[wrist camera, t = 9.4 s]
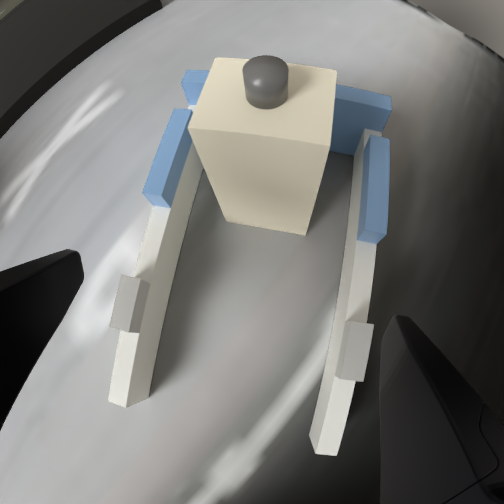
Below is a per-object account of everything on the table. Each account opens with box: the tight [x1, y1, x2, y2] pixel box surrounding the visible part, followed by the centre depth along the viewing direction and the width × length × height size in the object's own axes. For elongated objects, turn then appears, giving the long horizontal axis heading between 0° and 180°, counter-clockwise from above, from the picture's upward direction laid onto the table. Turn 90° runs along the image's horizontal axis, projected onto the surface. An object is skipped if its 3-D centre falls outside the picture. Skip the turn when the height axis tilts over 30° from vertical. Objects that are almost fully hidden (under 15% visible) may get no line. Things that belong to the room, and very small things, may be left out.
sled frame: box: [108, 70, 392, 456], centre depth 15 cm, size 18×11×5 cm, turn 169°
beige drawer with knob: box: [188, 55, 337, 235], centre depth 14 cm, size 4×4×10 cm
